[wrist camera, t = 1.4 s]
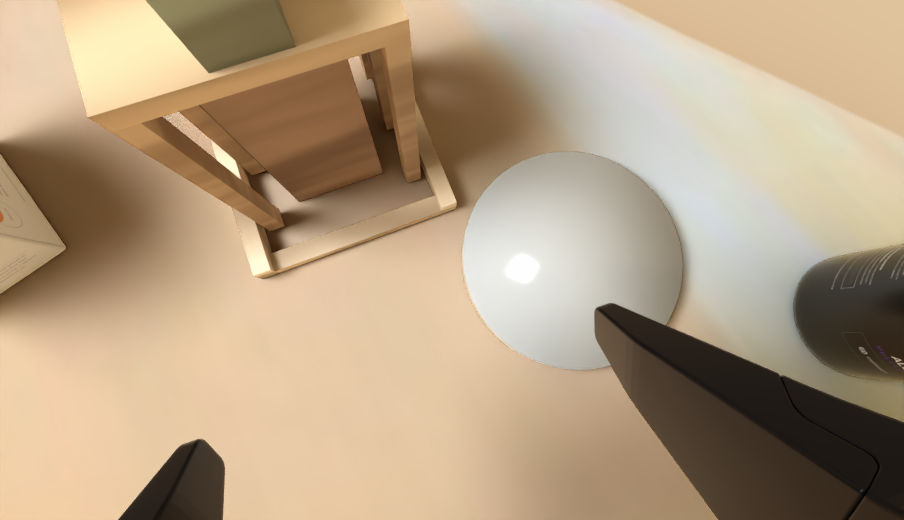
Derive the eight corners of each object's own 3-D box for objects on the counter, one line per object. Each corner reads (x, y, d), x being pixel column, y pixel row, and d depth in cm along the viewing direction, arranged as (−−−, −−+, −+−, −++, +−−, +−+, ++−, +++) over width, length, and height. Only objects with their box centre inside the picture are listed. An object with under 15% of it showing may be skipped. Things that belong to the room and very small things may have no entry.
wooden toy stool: (421, 178, 23) (398, -116, 8) (270, 231, 22) (-79, 13, 7) (374, 61, 25) (277, -391, 9) (229, 106, 24) (-147, -312, 8)
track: (455, 208, 24) (458, 195, 21) (262, 278, 22) (242, 272, 20) (352, -46, 26) (345, -83, 24) (175, 4, 25) (148, -30, 23)
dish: (578, 416, 22) (586, 420, 21) (417, 261, 23) (416, 257, 22) (711, 257, 24) (725, 253, 23) (556, 121, 25) (563, 110, 24)
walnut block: (383, 173, 24) (341, 39, 13) (299, 201, 23) (182, 87, 12) (354, 98, 24) (292, -88, 14) (272, 124, 24) (140, -47, 13)
